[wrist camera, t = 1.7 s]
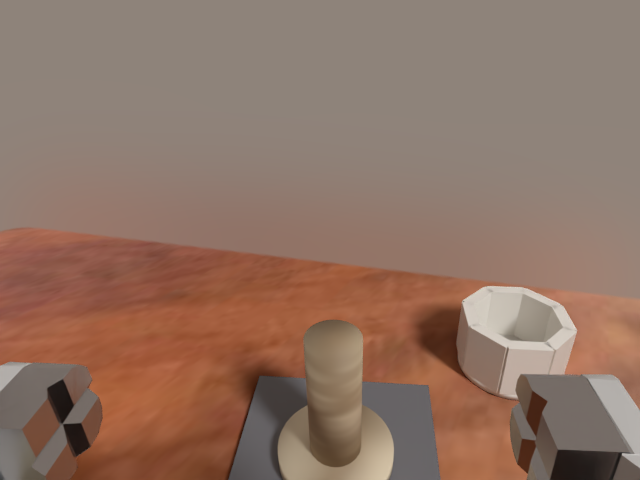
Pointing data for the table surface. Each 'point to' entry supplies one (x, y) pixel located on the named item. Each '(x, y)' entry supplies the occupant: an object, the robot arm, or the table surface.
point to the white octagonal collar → (512, 338)
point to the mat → (383, 398)
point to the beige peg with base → (335, 414)
